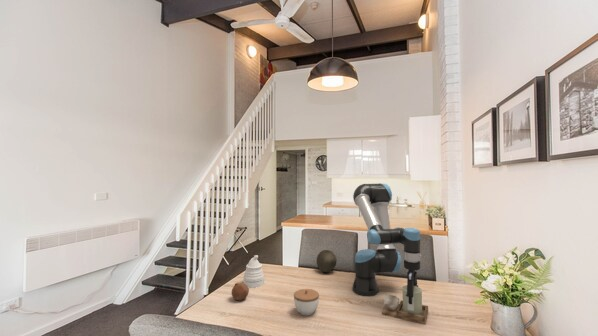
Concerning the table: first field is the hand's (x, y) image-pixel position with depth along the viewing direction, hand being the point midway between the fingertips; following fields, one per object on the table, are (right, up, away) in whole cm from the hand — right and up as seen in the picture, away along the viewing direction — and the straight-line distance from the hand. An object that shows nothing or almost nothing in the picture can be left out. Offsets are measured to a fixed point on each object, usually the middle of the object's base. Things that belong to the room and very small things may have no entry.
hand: (412, 305), depth 142 cm
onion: (-89, -6, +19) cm, 91 cm away
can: (0, -4, 0) cm, 4 cm away
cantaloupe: (-37, -6, +61) cm, 71 cm away
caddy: (-3, -5, +2) cm, 6 cm away
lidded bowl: (-52, -6, +4) cm, 53 cm away
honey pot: (-84, -6, +40) cm, 94 cm away
